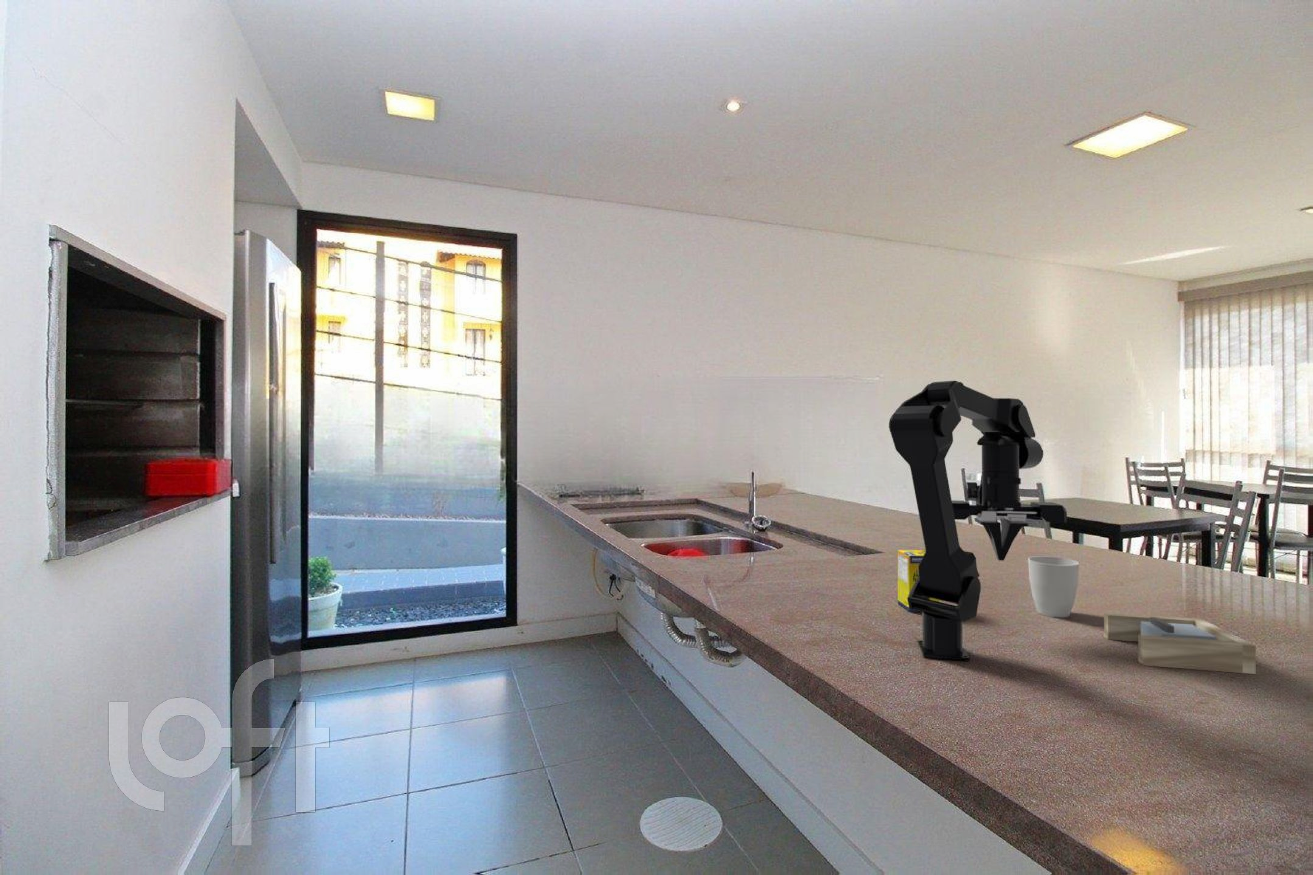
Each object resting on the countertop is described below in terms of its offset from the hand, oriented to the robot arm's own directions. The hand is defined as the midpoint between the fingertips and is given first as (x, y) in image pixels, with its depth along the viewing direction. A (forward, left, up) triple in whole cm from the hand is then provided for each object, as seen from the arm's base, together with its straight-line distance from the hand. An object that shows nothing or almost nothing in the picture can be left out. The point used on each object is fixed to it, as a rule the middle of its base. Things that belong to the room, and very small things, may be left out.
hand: (1000, 560), depth 107 cm
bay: (-7, -21, -12) cm, 26 cm away
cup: (+12, -12, -12) cm, 21 cm away
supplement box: (+10, +12, -12) cm, 20 cm away
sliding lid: (-7, -23, -12) cm, 27 cm away
